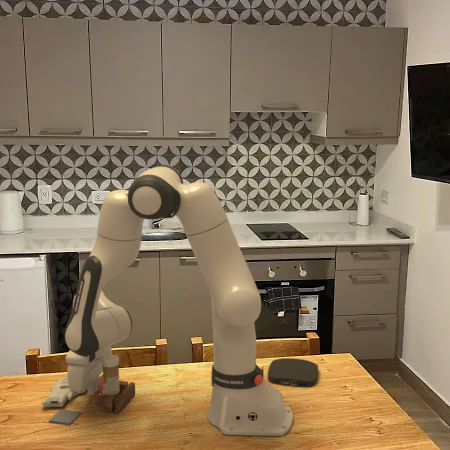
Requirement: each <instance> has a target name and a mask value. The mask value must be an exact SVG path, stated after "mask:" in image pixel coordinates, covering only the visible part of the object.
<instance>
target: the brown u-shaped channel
mask: <svg viewBox="0 0 450 450" xmlns="http://www.w3.org/2000/svg"><path fill="white" fill-rule="evenodd" d="M119 388H120V391H119V396H118V397H117V398H116V399H115V396H107V395H104V394H100V395H99V394H97V395H94V397H93V400H94V401H93V402H94V412H96V413H104V414H110V415H113V413H114V415H117V416H119V415H121V413H122V412H123V411H124V410H125V409H126V407H127V406H128V405H129V404H130V402H131V401H132V400H133V399H134V398H135V397H136V382H134V381H130V382H129V381H127V380H126V381H125V380H119ZM134 396H135V397H134Z"/></svg>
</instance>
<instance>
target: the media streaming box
mask: <svg viewBox="0 0 450 450" xmlns="http://www.w3.org/2000/svg"><path fill="white" fill-rule="evenodd" d="M318 373H319V365H318V364H317V363H315V362H313V361H310V360H307V359H302V358H293V357H292V358H290V357H289V358H288V357H284V358H277V359H274V360H272V361H271V362H270V364H269V367H268V370H267V382H268V383H271V384H273V385H278V386H287V387H296V388H312V387H314V386H315V385H316V384H317V381H318V375H319V374H318Z"/></svg>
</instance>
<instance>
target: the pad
mask: <svg viewBox="0 0 450 450" xmlns="http://www.w3.org/2000/svg"><path fill="white" fill-rule="evenodd" d="M81 415H82V411H78V410H71V409H64V408H63V409H62V408H61V409H58V411H57V412H56V413H55V414H54V415H53V416H51V418H50V419H49V420H48V423H50V424H55V425H63V426H71V425H72V424H74V422H75V421H76V420H77V418H79V417H80V416H81Z"/></svg>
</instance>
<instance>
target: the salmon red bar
mask: <svg viewBox="0 0 450 450" xmlns="http://www.w3.org/2000/svg"><path fill="white" fill-rule="evenodd" d="M102 391H103V373H101V374H100V379H99V383H98V390H97V391H96V392H95V393H94V394H93V395H92V396H96V395H97V394H100V393H101V392H102ZM103 392H104V391H103ZM103 392H102V393H103ZM102 393H101V394H102ZM101 394H100V395H101Z"/></svg>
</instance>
